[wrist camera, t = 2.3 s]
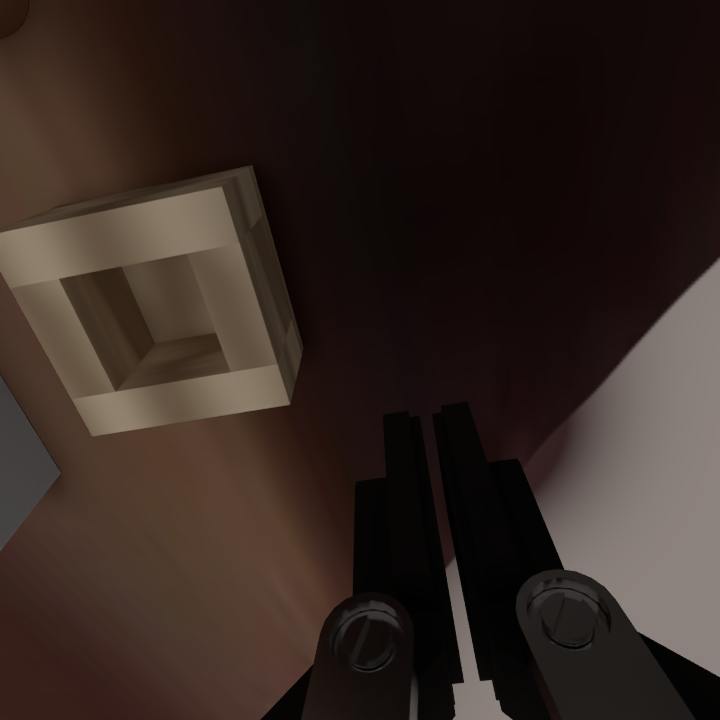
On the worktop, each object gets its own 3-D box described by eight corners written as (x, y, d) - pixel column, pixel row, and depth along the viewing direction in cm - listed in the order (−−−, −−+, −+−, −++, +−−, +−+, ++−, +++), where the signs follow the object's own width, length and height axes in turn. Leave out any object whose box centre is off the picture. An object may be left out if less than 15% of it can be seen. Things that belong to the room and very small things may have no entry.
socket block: (252, 164, 24) (221, 186, 19) (303, 346, 29) (289, 404, 24) (61, 205, 25) (-20, 236, 20) (140, 374, 30) (92, 436, 25)
